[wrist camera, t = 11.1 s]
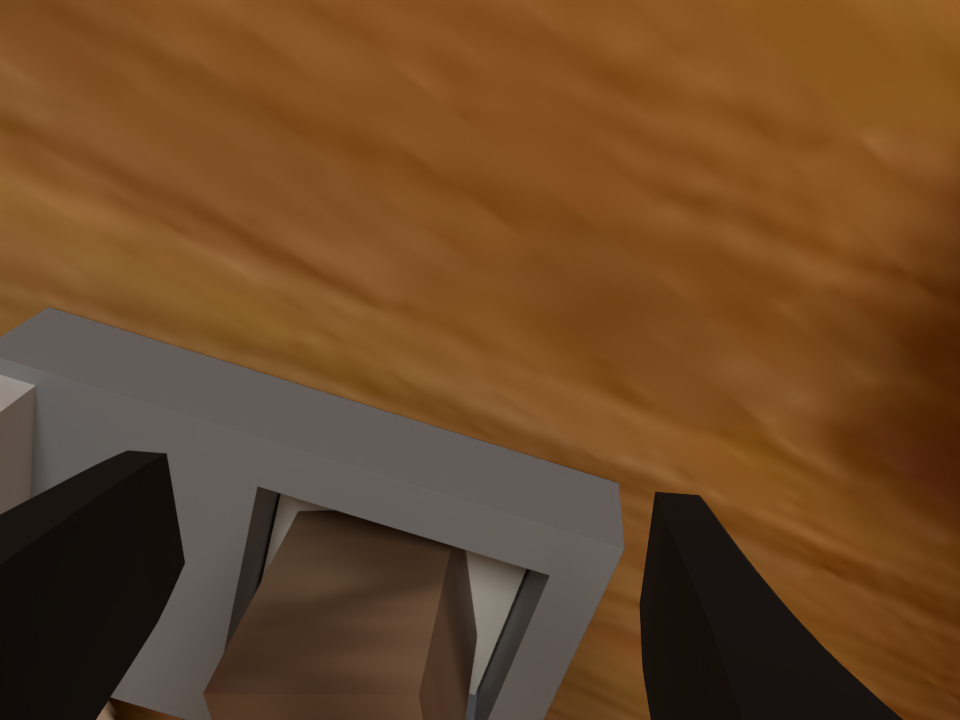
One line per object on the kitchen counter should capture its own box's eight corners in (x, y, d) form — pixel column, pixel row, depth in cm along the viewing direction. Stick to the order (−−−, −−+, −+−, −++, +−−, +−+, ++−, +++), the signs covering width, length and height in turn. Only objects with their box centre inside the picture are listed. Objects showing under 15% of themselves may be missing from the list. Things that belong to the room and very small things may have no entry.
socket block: (618, 483, 23) (645, 799, 14) (506, 732, 28) (474, 1086, 19) (31, 302, 23) (-322, 510, 14) (19, 586, 28) (-250, 879, 19)
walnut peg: (460, 507, 24) (418, 695, 18) (477, 635, 26) (446, 845, 20) (298, 510, 25) (203, 693, 18) (327, 636, 27) (251, 839, 20)
